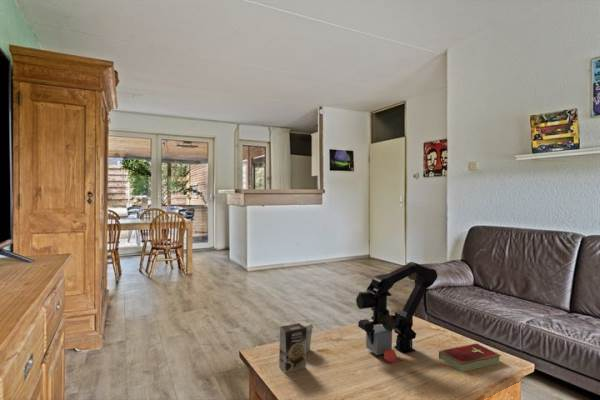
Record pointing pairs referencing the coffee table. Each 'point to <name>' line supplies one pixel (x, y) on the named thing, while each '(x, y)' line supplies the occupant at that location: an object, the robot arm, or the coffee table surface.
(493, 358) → the hardcover book
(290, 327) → the coffee box
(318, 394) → the coffee table surface
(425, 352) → the coffee table surface
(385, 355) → the ball
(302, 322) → the coffee cup
